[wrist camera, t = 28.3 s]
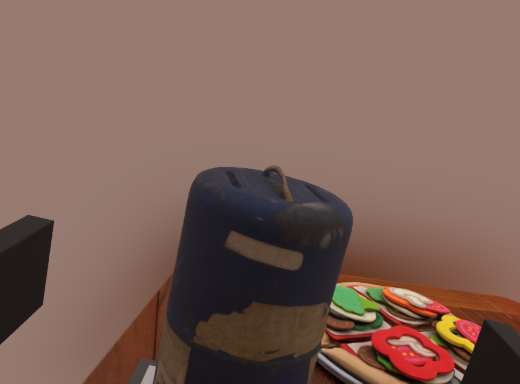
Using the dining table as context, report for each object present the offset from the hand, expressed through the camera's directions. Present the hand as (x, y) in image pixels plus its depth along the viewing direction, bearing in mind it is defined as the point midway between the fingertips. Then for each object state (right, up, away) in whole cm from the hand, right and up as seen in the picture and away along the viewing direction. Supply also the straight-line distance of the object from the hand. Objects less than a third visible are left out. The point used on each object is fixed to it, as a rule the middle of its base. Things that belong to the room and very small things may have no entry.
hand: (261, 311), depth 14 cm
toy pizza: (+17, -15, +41) cm, 46 cm away
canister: (-3, -12, +16) cm, 21 cm away
